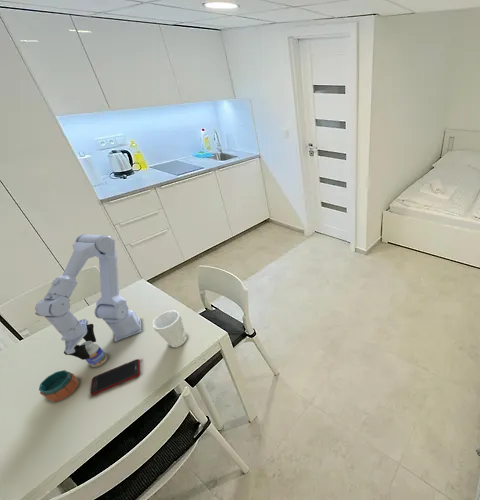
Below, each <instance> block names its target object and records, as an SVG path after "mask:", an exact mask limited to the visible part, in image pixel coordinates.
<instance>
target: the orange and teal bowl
mask: <svg viewBox="0 0 480 500" xmlns="http://www.w3.org/2000/svg"><path fill="white" fill-rule="evenodd" d="M79 385H80V381H79V379H78V378H77V377H76V375H75V374H74V373H72V372H71V371H67V370H65V369H64V370H63V369H62V370H58V371H55V372H53V373H52V374H50V375H48V376H47V377H46V378H44V379H43V381H41V382H40V383H39V387H38V391H39V394H40V395H41V396H42V397H43V398H46V400H48V401H49V402H52V403H55V402H59V401H62V400H64V399H66V398H68V397H69V396H70V395H72V394H73V393H74V392H75V391H76V390H77V388H78V386H79Z"/></svg>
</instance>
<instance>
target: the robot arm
mask: <svg viewBox="0 0 480 500" xmlns="http://www.w3.org/2000/svg"><path fill="white" fill-rule="evenodd" d="M115 241H116V240H115V239H113V238H112V237H111V236H109V235H107V234H106V235H105V234H103V235H102V234H101V235H100V234H87V233H83V234H80V235H78V236H77V237H76V239H75V241H74V243H73V244H72V249H73V252H72V254H71V256H70V258H69V260H68V262H67V264H66V267H65V269H64V271H63V274H62V275H60V276H57V277H55V279H54V280H52V282H51V286H50V287H49V289H48V291H47V293H46V295H45V296H44V298H42V299H40V300H39V301H38V302H37V303H36V304H35V308H34V310H35V313H34V314H35V315H36V316H38V317H43V318H45V319H46V320H47V321H48V322H49V323H50V324H51V326H53V328H55V330H56V331H57V332H58V333H59V334H60V335H61V338H60V339H61V341H64V346H65V347H64V350H63V354H64V355H65V356H73V357H75V358H78V359H80V360H81V361H86V360H85V359H88V358H89V357H90V355H89V354H88V352H87V350H86V347H85V344H84V345H81V344H79V343H80V342H81V341H82V339H83V340H84V342H86V341H92V342H93V343H96V342H97V338H96V335H95V331H94V326H95V325H94V324H93V323H89V321H88V319H87V318H83V319H78V318H77V317H76V316H75V315H74V313H73V312H72V311H71V310H70V309H71V303H70V302H71V297H72V295H73V293H74V291H75V290H76V287H77V285H78V280H77V279H76V278H77V277H78V275H79V274H80V272H81V270H82V269H83V268H84V266H85V265H86V263H87V261H88V260H89V259H91V258H94V257H96V258H98V261H99V262H98V263H99V264H98V265H99V276H100V277H99V279H100V280H99V281H100V298H99V299H97V300H96V301H95V304H96V305H95V308H94V316H95V317H96V318H97V319H102V321H104V322H105V323H106V325H107V326H108V327H109V329H110V330H111V331H112V333H113V334H114V340H113V341H114V342H119V341H121V340H123V339H126V338H129V337H131V336H133V335H136V334H139V333H141V332H142V321H141V319H140V318H139V316H138V315H137V313H136V311H135V310H134V309H133V310H130V309H129V307H128V305H127V300H126V299H125V298H124V297H122V296H121V295H120V285H119V284H120V283H119V267H118V265H119V263H118V252H117V249H116V244H115Z"/></svg>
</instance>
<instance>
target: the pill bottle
mask: <svg viewBox="0 0 480 500" xmlns="http://www.w3.org/2000/svg"><path fill="white" fill-rule="evenodd" d="M84 344H85V347H86V350H87V352H88V354H89V355H90V357H89V358H88V359H85V360H84V361H86V363H87V364H88V365H89V366H90V367H93V368H96V367H99V366H101V365H103V364H104V363H105V362H106V361H107V359H108V355H107V354H106V352H104V350H103V349H102V348H101V347H100V345H99V344H97V343H95V342H92V341H84V342H82V343H81V344H80V345H84Z"/></svg>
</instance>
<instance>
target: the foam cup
mask: <svg viewBox="0 0 480 500" xmlns="http://www.w3.org/2000/svg"><path fill="white" fill-rule="evenodd" d="M151 325H152V328H153V329H154V331H155V332H156V333H158V334H159V336H160V337H161V338H162V339H163V340H164V342H166V343H167V344H168V345H169V346H170V347H171V348H178V347H180V346H183V345H184V344H185V342H187V332H186V329H185V326H184V324H183V318H182V316H181V314H180V312H179V311H177V310H175V309H174V310H171V309H170V310H165V311H164V312H161V313H160V314H158V315H157V316H156V317H155V318H154V319H153V321H152V323H151Z"/></svg>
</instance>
